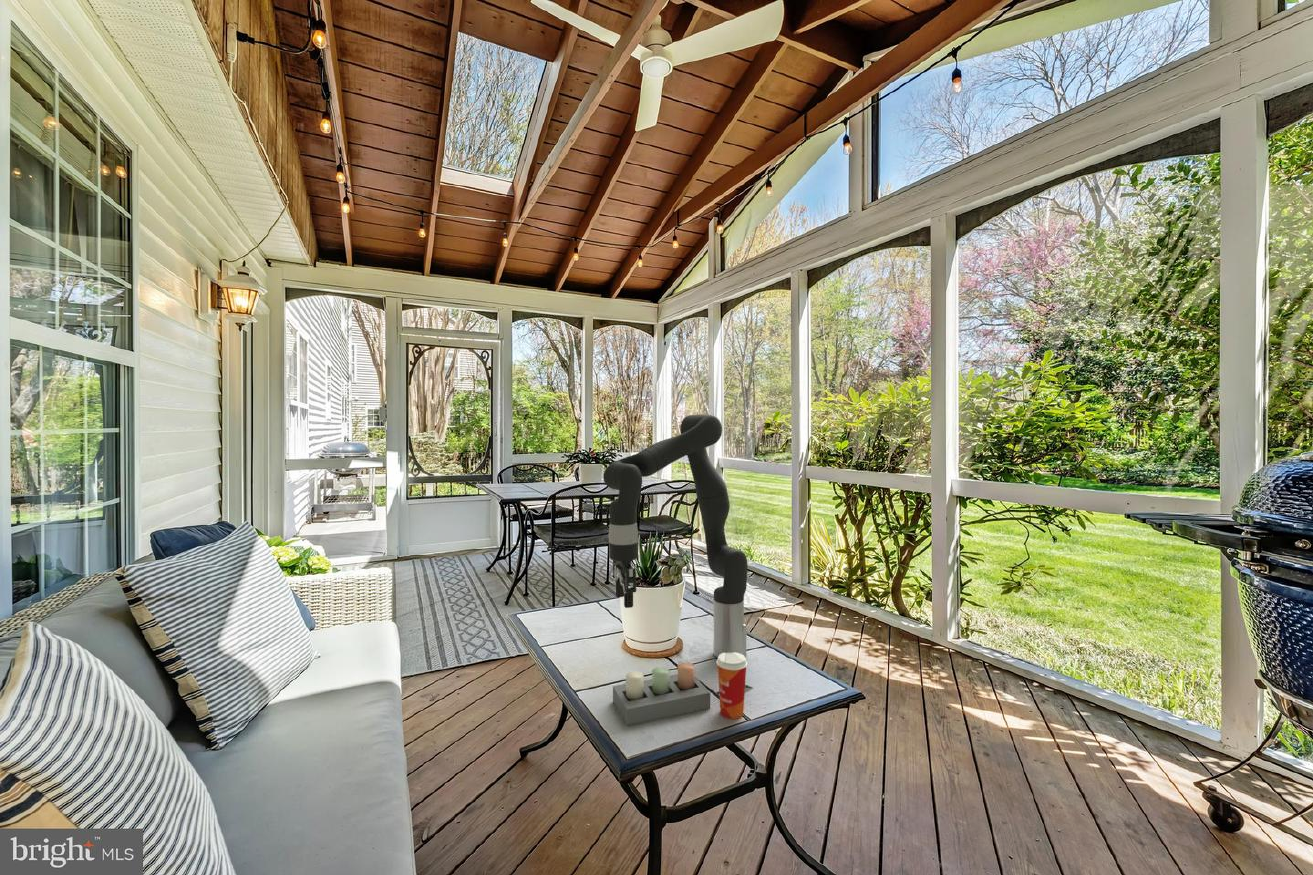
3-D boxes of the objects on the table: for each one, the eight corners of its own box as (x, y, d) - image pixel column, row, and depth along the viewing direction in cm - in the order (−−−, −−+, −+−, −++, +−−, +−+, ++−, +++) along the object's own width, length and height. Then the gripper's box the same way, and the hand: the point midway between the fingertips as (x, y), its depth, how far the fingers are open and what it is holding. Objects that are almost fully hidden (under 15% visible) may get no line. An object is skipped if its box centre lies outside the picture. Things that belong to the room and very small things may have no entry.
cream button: (640, 689, 142) (640, 670, 142) (646, 697, 138) (645, 677, 138) (623, 692, 141) (623, 673, 141) (629, 700, 137) (629, 680, 137)
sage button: (665, 684, 145) (665, 665, 145) (672, 692, 141) (672, 673, 141) (649, 687, 143) (649, 668, 143) (655, 695, 139) (655, 676, 139)
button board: (690, 686, 152) (690, 671, 152) (710, 708, 140) (710, 692, 140) (613, 701, 144) (612, 686, 144) (626, 725, 133) (626, 709, 133)
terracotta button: (690, 679, 147) (690, 661, 147) (697, 687, 143) (697, 668, 143) (675, 682, 146) (674, 664, 146) (681, 690, 142) (681, 671, 141)
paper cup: (713, 705, 142) (713, 651, 141) (743, 704, 142) (743, 650, 142) (719, 722, 134) (719, 665, 133) (751, 720, 135) (751, 664, 134)
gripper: (645, 545, 139) (646, 609, 139) (629, 533, 152) (630, 591, 153) (616, 547, 136) (617, 612, 137) (602, 535, 150) (603, 595, 150)
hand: (624, 601), depth 145 cm, fingers open, 8 cm apart
